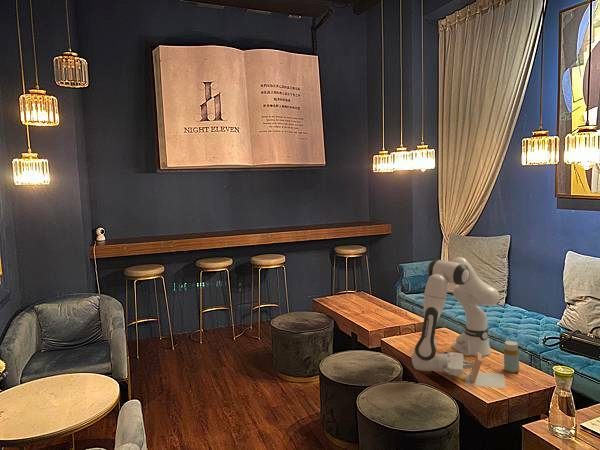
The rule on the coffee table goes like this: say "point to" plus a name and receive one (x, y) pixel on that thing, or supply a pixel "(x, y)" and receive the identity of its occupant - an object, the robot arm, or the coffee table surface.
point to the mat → (487, 380)
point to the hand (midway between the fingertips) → (473, 365)
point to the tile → (476, 367)
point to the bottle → (511, 357)
